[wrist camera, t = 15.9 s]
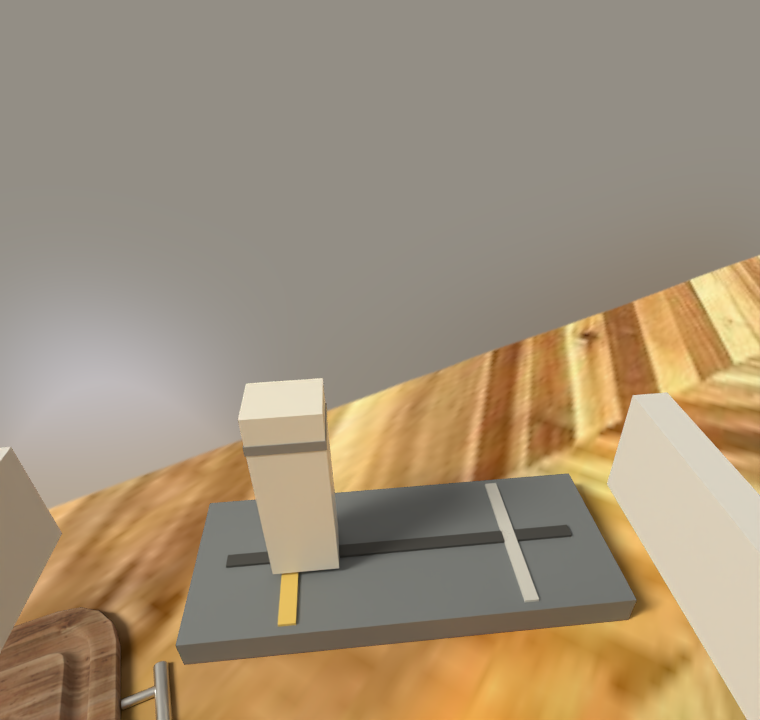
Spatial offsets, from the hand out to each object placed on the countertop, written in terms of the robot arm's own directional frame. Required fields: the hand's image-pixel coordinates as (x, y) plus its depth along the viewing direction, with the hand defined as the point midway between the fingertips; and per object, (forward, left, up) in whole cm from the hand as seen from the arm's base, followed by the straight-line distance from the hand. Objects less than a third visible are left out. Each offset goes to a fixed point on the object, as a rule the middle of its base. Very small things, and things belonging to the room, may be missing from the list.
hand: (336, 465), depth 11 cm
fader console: (-3, -13, -22) cm, 26 cm away
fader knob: (+3, -13, -19) cm, 23 cm away
